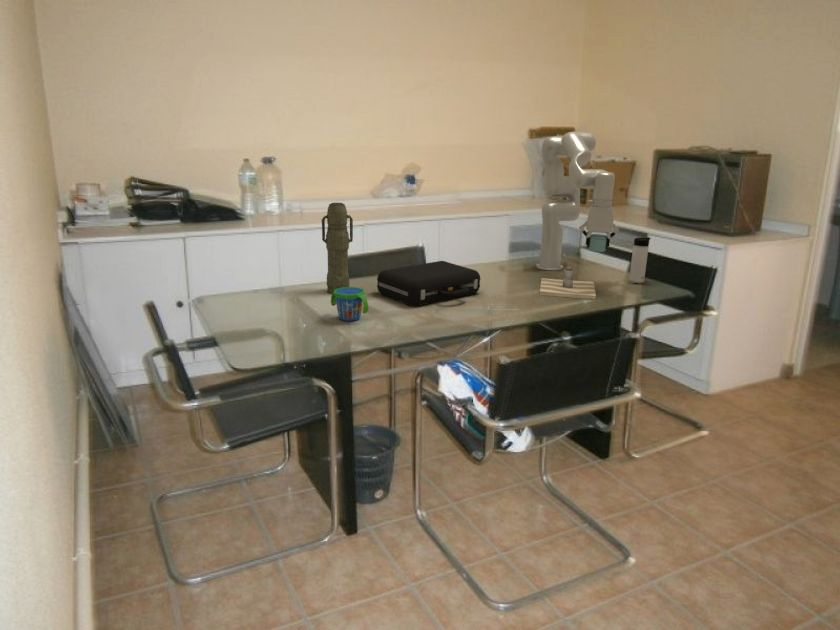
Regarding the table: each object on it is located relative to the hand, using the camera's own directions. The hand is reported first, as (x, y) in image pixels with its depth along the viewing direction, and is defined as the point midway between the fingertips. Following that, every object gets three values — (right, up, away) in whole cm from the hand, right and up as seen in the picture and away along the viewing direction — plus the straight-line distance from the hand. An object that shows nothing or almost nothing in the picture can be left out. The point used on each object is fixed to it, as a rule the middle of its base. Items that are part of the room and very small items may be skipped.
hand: (597, 247), depth 267 cm
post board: (-11, -17, +5) cm, 21 cm away
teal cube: (0, -1, 0) cm, 1 cm away
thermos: (-105, -18, -5) cm, 107 cm away
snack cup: (-97, -29, -38) cm, 108 cm away
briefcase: (-67, -20, -7) cm, 70 cm away
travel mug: (+23, -14, +20) cm, 33 cm away
